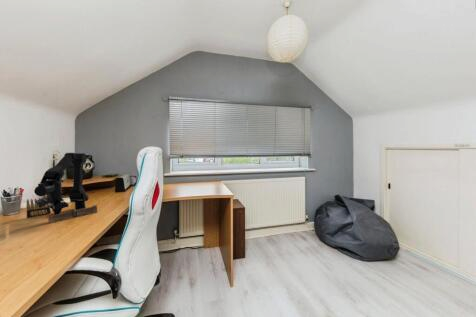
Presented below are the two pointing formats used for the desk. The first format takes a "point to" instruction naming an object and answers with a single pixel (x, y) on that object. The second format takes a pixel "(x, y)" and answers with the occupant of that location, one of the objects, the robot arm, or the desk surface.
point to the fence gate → (60, 217)
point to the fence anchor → (84, 211)
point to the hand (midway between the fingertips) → (56, 217)
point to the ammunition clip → (36, 209)
